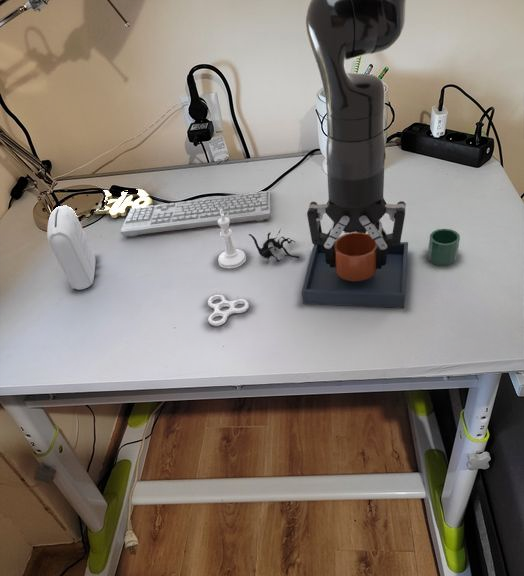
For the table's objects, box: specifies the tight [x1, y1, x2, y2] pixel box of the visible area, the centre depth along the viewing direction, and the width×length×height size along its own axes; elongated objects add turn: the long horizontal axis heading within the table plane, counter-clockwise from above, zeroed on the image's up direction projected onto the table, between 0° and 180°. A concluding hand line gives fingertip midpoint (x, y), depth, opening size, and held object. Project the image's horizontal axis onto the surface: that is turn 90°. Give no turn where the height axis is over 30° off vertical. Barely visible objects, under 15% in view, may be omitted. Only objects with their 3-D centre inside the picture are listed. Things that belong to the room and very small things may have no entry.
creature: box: [248, 228, 300, 263], centre depth 87 cm, size 8×5×8 cm
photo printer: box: [46, 205, 96, 291], centre depth 88 cm, size 10×4×12 cm, turn 11°
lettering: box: [84, 189, 154, 219], centre depth 109 cm, size 25×10×1 cm, turn 80°
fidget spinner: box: [207, 294, 250, 327], centre depth 80 cm, size 7×6×1 cm
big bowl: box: [334, 232, 378, 281], centre depth 78 cm, size 6×6×4 cm
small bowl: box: [427, 228, 461, 267], centre depth 80 cm, size 4×4×4 cm
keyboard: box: [119, 190, 271, 238], centre depth 100 cm, size 29×10×2 cm, turn 90°
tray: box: [301, 241, 409, 309], centre depth 80 cm, size 15×13×2 cm
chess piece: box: [217, 209, 247, 269], centre depth 86 cm, size 5×5×10 cm
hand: (356, 264), depth 79 cm, fingers closed on big bowl, 6 cm apart
